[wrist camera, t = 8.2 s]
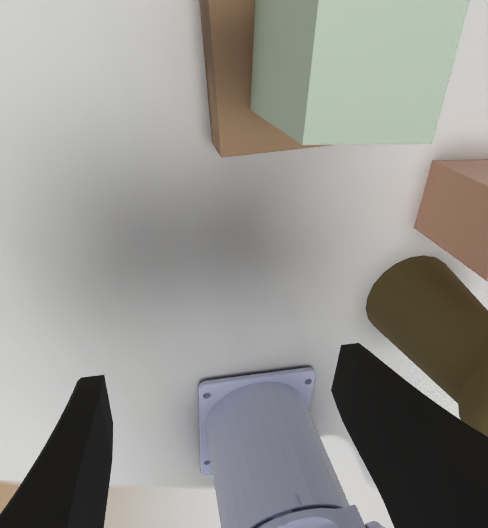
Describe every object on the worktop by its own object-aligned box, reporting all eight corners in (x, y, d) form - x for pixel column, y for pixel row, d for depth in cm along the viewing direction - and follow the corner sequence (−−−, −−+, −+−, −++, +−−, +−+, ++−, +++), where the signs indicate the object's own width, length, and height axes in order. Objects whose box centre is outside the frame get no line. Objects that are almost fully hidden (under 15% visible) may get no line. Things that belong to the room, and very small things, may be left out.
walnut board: (347, 125, 20) (376, 139, 18) (210, 140, 19) (220, 157, 17) (361, -48, 17) (400, -61, 14) (194, -42, 16) (203, -55, 13)
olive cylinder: (400, 244, 24) (559, 377, 15) (468, 269, 27) (642, 399, 17) (349, 322, 27) (460, 479, 17) (416, 339, 29) (545, 486, 20)
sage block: (343, 110, 17) (431, 144, 12) (250, 109, 16) (302, 144, 11) (360, -4, 15) (475, -23, 10) (255, -12, 14) (322, -38, 9)
